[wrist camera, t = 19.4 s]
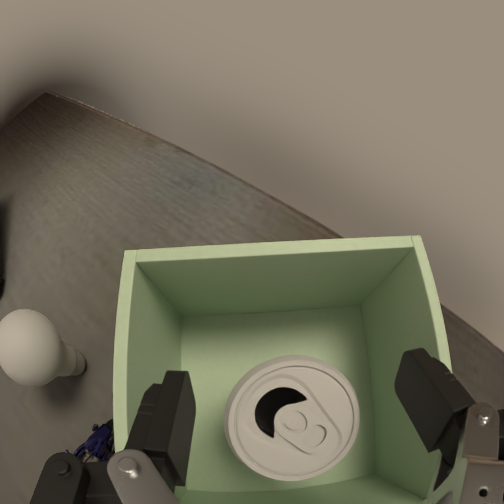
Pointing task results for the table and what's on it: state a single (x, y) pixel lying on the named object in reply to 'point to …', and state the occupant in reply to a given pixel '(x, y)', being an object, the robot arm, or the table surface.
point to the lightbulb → (35, 350)
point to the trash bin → (283, 353)
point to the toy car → (98, 444)
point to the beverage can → (292, 418)
